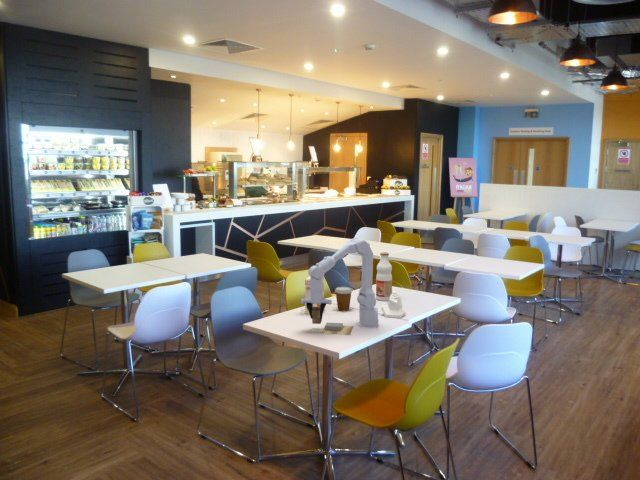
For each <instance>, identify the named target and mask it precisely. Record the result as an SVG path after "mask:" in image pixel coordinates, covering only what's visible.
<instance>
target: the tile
mask: <svg viewBox="0 0 640 480" xmlns="http://www.w3.org/2000/svg"><path fill="white" fill-rule="evenodd" d="M343 326H344V323H342V322H326V323H325V325H324V327H325V330H332V331H341V330H342V328H343Z"/></svg>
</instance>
